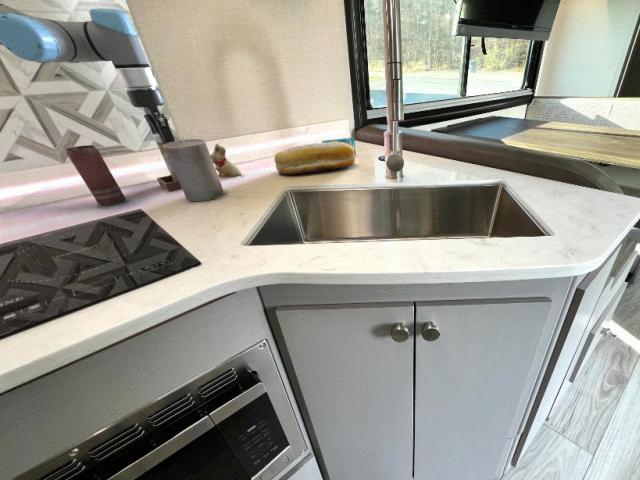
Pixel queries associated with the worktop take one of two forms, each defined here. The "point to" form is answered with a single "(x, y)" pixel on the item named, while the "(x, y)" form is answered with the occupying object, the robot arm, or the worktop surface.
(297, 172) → the bread
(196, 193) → the pillar candle
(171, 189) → the tray
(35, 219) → the worktop surface
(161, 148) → the sprinkles bottle
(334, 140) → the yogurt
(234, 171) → the dog figurine
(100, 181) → the can
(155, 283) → the worktop surface
